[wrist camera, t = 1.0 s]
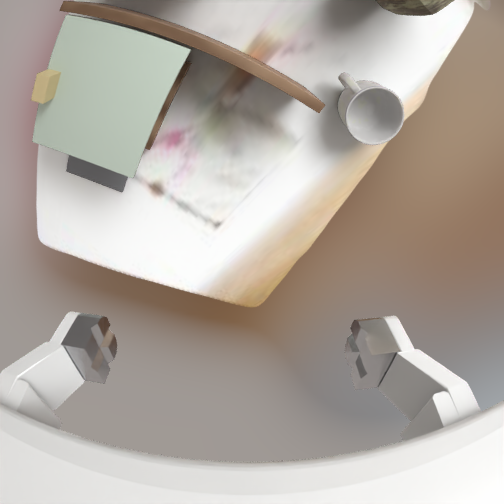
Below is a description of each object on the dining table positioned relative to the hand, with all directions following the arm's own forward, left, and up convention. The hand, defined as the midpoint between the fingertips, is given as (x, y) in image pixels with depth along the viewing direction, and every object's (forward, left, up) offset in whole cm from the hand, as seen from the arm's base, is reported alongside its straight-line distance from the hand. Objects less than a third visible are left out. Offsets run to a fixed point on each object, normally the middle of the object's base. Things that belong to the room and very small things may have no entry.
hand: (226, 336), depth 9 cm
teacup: (-9, +20, -45) cm, 50 cm away
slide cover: (+7, -17, -33) cm, 38 cm away
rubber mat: (+25, -17, -45) cm, 54 cm away
